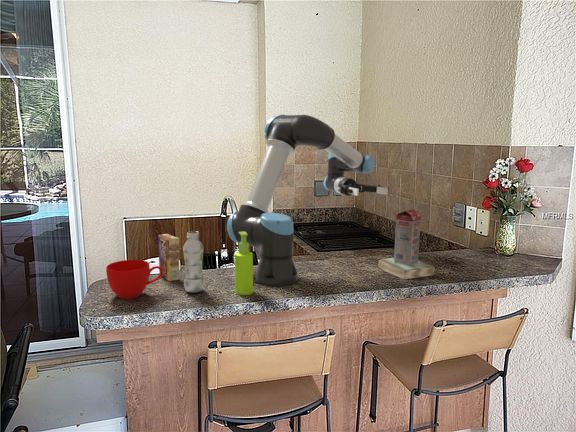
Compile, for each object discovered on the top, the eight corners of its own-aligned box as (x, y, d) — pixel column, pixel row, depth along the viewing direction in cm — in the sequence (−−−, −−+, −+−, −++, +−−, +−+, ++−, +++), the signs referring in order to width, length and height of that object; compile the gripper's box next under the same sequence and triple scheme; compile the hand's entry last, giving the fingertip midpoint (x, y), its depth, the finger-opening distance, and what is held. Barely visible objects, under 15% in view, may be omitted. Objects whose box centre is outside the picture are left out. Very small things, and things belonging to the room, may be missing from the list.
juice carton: (393, 262, 176) (397, 205, 172) (402, 259, 181) (405, 204, 177) (409, 266, 172) (413, 208, 168) (417, 262, 176) (421, 206, 173)
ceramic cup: (164, 298, 144) (163, 268, 143) (107, 304, 139) (105, 272, 137) (161, 285, 156) (160, 257, 155) (108, 290, 151) (106, 261, 149)
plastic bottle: (206, 294, 149) (204, 233, 145) (184, 295, 147) (183, 234, 144) (203, 287, 155) (202, 229, 152) (183, 289, 153) (181, 230, 150)
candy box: (181, 279, 163) (179, 237, 161) (169, 281, 161) (168, 239, 158) (170, 273, 170) (168, 233, 167) (158, 275, 167) (157, 234, 165)
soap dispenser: (249, 287, 156) (249, 229, 152) (254, 294, 149) (254, 234, 146) (232, 289, 154) (232, 230, 150) (237, 296, 148) (236, 235, 144)
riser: (403, 279, 167) (404, 270, 166) (378, 267, 181) (378, 259, 180) (434, 275, 172) (434, 266, 172) (407, 263, 187) (407, 255, 186)
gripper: (369, 194, 210) (397, 200, 190) (320, 195, 200) (344, 202, 181) (370, 177, 208) (398, 182, 189) (321, 178, 199) (345, 183, 179)
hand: (372, 191), depth 185 cm, fingers open, 13 cm apart
